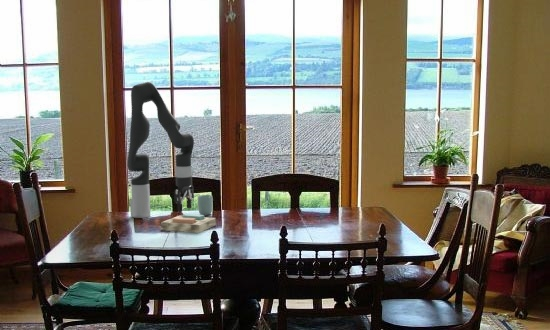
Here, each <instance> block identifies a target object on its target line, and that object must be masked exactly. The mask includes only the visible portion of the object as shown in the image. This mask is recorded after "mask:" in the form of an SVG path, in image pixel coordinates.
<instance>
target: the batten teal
mask: <svg viewBox="0 0 550 330" xmlns="http://www.w3.org/2000/svg"><path fill="white" fill-rule="evenodd" d="M181 216H182V218H196V220H204V217H205V215H201V214H194V213H185V214H182V215H181Z"/></svg>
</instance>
